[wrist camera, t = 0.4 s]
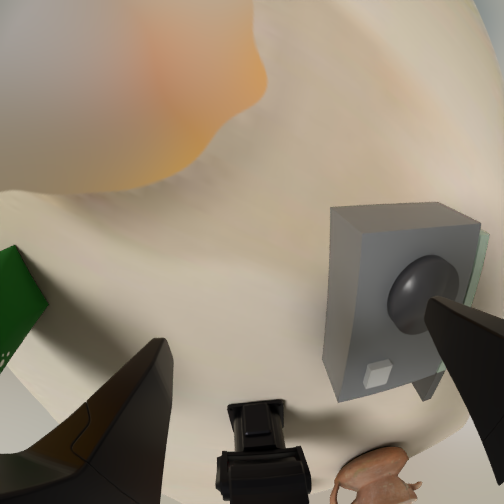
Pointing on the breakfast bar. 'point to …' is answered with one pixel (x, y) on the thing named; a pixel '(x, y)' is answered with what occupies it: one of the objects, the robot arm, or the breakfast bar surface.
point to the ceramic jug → (376, 478)
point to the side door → (430, 383)
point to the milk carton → (16, 303)
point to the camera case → (390, 291)
